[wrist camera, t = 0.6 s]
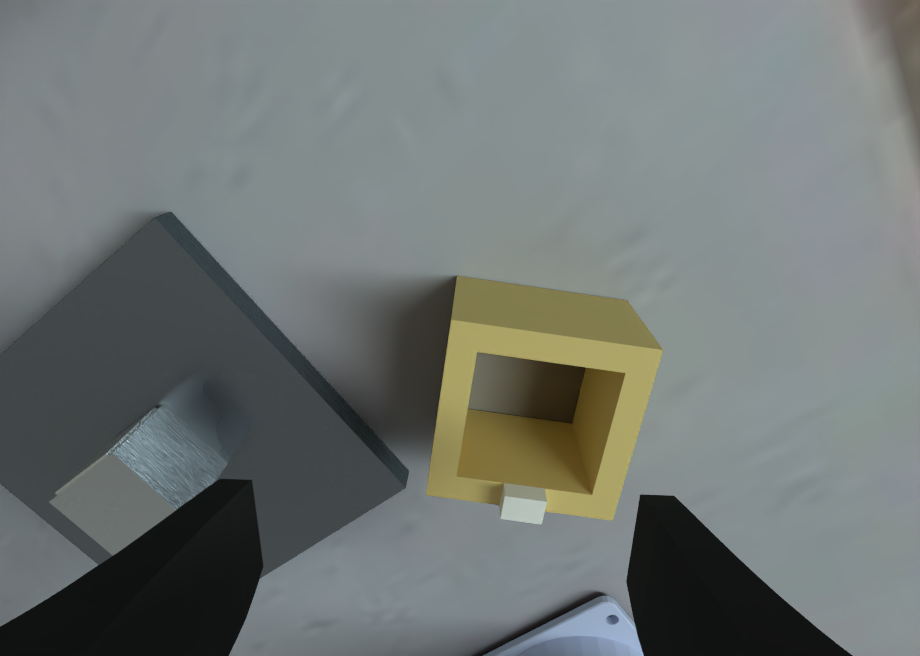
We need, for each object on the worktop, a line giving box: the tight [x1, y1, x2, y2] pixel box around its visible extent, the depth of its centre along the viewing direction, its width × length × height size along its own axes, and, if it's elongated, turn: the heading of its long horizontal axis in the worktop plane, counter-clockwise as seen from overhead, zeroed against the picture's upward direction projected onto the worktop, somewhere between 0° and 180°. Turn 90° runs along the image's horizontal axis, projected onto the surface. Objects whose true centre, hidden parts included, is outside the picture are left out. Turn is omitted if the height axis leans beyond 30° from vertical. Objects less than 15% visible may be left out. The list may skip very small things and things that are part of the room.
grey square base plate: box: [0, 212, 409, 579], centre depth 20 cm, size 12×12×4 cm
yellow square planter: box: [426, 276, 663, 524], centre depth 18 cm, size 6×6×5 cm
